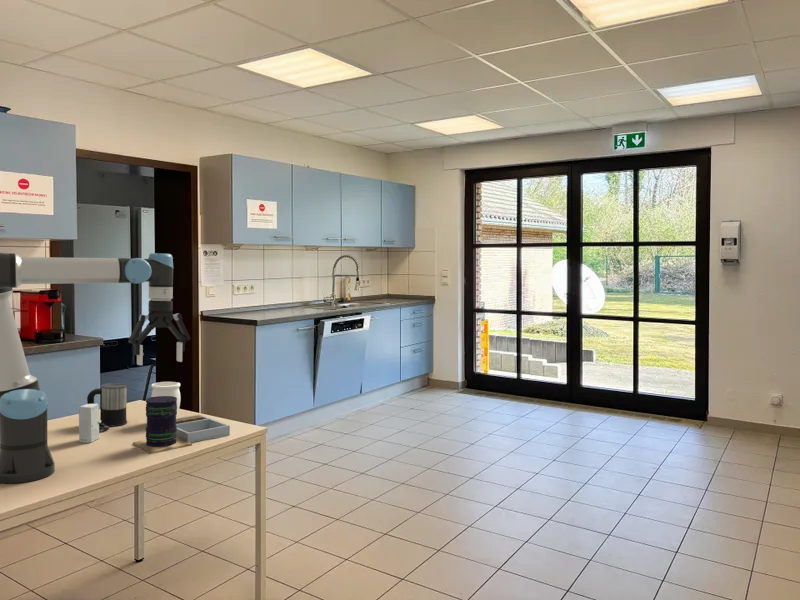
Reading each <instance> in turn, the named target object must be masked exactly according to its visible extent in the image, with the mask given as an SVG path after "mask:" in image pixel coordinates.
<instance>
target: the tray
mask: <svg viewBox="0 0 800 600" xmlns="http://www.w3.org/2000/svg"><path fill="white" fill-rule="evenodd" d="M196 415H197V414H194V415H192V416H196ZM199 415H200V416H203V417H204V419H203V420H198V421H192V422H186V423H180V424H176V426H177V435H176V436H177V437H179V438H181V439H183V440H186V441H188V442H190V443H196V442H200V441H206V440H211V439H216V438H221V437H226V436H230V435H231V433H230V431H231V430H230V429H231V426H230V425H229V424H227V423H224V422H221V421H218V420H215V419H214V418H213V419H212V418H210V417H207V416H204V415H202V414H199ZM189 416H190V415H188V416H186V417H189ZM184 417H185V416H182V417H176V419H179V418H184Z"/></svg>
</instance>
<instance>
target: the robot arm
mask: <svg viewBox="0 0 800 600" xmlns="http://www.w3.org/2000/svg"><path fill="white" fill-rule="evenodd" d="M173 259H174V257H173V255H172V254H171V253H158V252H156V253H155V252H153V253H149V255H148V258H141V257H135V258H134V257H133V258H131V257H130V258H127V257H114V258H113V257H110V258H109V257H54V256H53V257H48V256H47V257H46V256H45V257H42V256H41V257H40V256H26V257H25V256H20V255H19V254H17V253H11V252H10V253H8V252H0V483H2V484H20V483H27V482H28V483H29V482H34V481H37V480H41V479H44V478H46V477H49V476H51V475H52V474H54V472H55V468H56V467H55V466H56V465H55V464H56V463H55V461H54V458H53V456H52V454H51V450H50V448H49V445H48V406H49V401H48V397H47V394H46V393H45V392H44V391H42V390H41V387H40V383H39V380H38V377H36V376H34V375H32V374H31V373H30V370H29V369H30V368H29V366H28V361H27V358H26V356H25V352H24V347H23V345H22V344H23V343H22V341H21V338H20V333H19V330H18V326H17V322H16V318H15V316H14V315H15V314H14V313H13V308H12V305H11V301H10V297H11V295H12V293H13V291H14V290H13V289H14V288H15V289H16V288H17V289H18V288H19V287H20V286H22V285H37V284H38V285H43V284H44V285H46V284H47V285H50V284H51V285H52V284H53V285H54V284H56V285H57V284H58V285H59V284H118V283H119V284H142V283H143V284H144V283H147V282H148V299H150V300H148V308H147V309H148V314H146V315H144V314H141V313H140V314H139V315H138V317H137V322H136V324H135V327H134V328H133V330H132V332H131V335H129V338H128V341H127V342H128V344H132V345H133V347H134V348H133V349H134V350H133V354H134V355H135V356H136V365H138V366H143V364H144V363H143V356H144V352H143V350H144V348H143V347H144V346H143V344H142V343H143V342H144V340H145V339H146V338H147V337H148V336H149V335H150V333H151V332H152V331H153V330H154V329H155V328H156V329H159V328H167V329H169V331H170V332H171V333H172V334H173V335H174V336H175V338H176V339H177V340H178V341H177V342H176V361H177V362H179V363H182V362H183V352H185V350H186V349H185V348H186V347H185V345H186V343H187V341H191V336H190V334H189V331H188V330H187V328H186V326H185V323H184V322H183V315H182V314H181V313H177V312H176V313H175V314H173V310H174V309H173V308H174V307H173V303H174V302H173V299H174V296H173V294H174V293H173V292H174V290H173V289H174V287H173V285H174V282H173V281H174V261H173ZM173 320H174V321H175V322H176V324H177V327H178V329H179V330H178V329H177V328H176V327H175V324H173V322H172V321H173ZM147 321H149V322H148V323H147V325H145V322H147ZM144 325H145V326H146V327H145V328H143V326H144ZM142 329H143V330H142ZM141 331H142V332H141Z"/></svg>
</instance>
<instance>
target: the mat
mask: <svg viewBox="0 0 800 600" xmlns="http://www.w3.org/2000/svg"><path fill="white" fill-rule="evenodd" d="M176 440H177V442H176V444H174V445H171V446H166V447H150V446H147V445H146V442H147V440H146V439H143V440H139V441H133V442H132V445H134V446H136V447H138V448H140V449H141V450H144V451H146V452H148V453H150V454H154V453H159V452H165V451H169V450H175V449H179V448H185V447H189V446H193V442H191V443H190V442H188V441H186V440H183V439H181V438H179V437H177V438H176Z"/></svg>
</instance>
